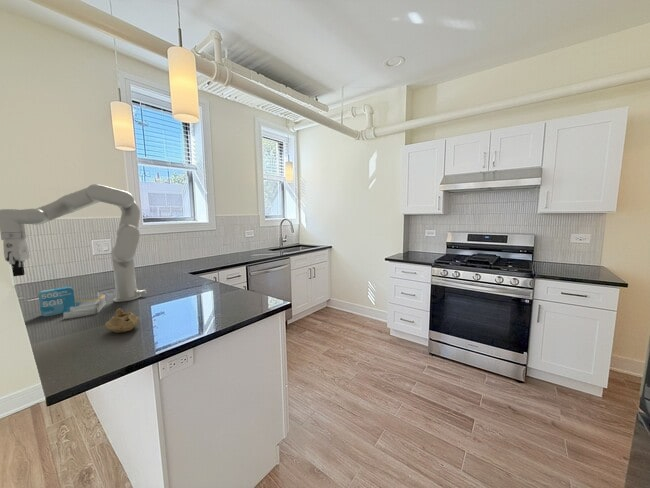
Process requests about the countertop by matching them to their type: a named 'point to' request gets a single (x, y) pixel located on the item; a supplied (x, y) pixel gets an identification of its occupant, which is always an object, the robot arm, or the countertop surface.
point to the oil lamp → (122, 321)
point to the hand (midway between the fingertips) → (19, 275)
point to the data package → (56, 301)
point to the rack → (86, 308)
